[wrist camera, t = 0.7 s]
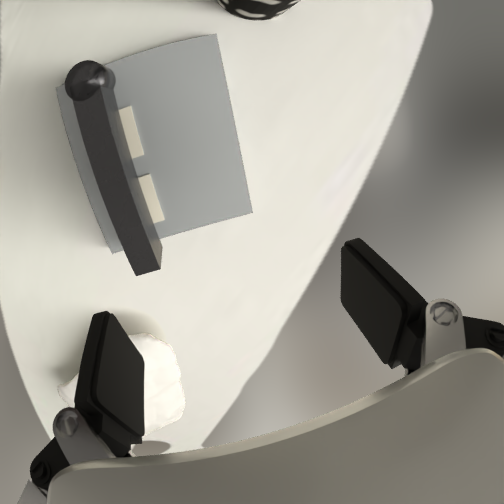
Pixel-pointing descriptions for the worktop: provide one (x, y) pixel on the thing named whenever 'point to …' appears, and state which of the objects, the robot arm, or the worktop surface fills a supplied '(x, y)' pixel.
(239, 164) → the label panel
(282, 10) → the white-spotted black cylinder
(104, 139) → the swing arm
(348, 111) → the worktop surface
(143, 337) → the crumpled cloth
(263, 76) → the worktop surface
